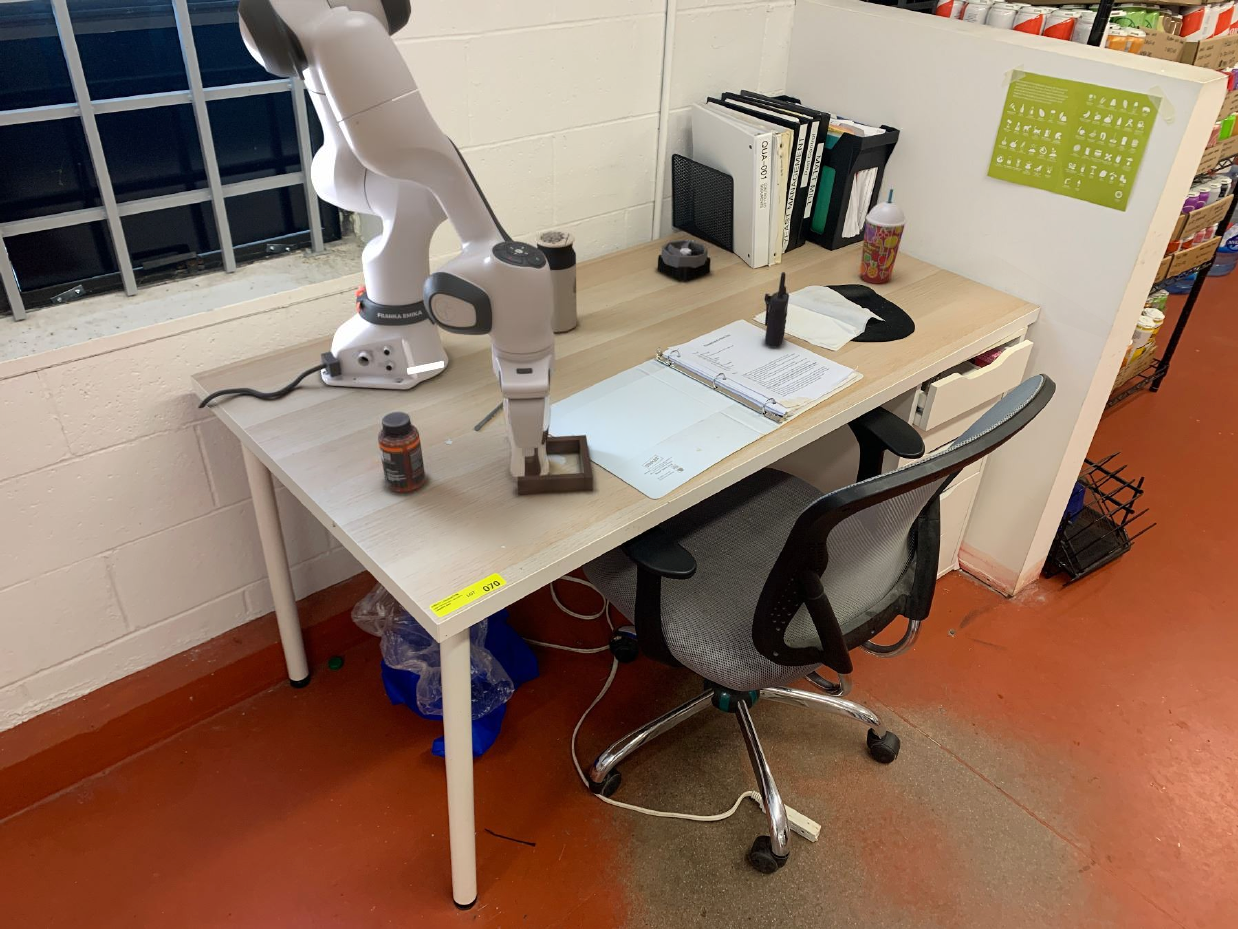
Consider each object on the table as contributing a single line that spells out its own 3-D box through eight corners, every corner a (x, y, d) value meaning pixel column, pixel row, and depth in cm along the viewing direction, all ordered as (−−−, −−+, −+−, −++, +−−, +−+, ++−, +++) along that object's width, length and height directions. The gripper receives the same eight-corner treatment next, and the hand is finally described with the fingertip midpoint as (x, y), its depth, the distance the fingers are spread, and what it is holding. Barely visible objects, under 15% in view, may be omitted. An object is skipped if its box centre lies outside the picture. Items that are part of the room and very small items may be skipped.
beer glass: (545, 485, 136) (542, 400, 128) (500, 479, 137) (495, 393, 129) (557, 460, 142) (555, 376, 133) (514, 454, 143) (510, 370, 134)
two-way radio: (779, 350, 174) (789, 276, 165) (756, 346, 175) (765, 273, 167) (785, 337, 178) (794, 265, 170) (762, 334, 179) (771, 262, 171)
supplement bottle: (428, 470, 140) (420, 407, 133) (422, 493, 135) (414, 429, 128) (389, 470, 139) (379, 407, 133) (382, 494, 135) (371, 429, 128)
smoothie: (848, 273, 205) (864, 184, 194) (881, 269, 207) (898, 181, 196) (867, 287, 199) (884, 197, 187) (901, 283, 201) (920, 194, 189)
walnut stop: (517, 494, 135) (517, 481, 134) (515, 451, 144) (515, 438, 143) (592, 490, 136) (592, 476, 135) (586, 447, 146) (586, 434, 144)
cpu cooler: (683, 259, 195) (652, 245, 201) (681, 284, 198) (651, 270, 204) (717, 248, 200) (686, 235, 207) (715, 273, 204) (684, 259, 210)
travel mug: (531, 330, 179) (527, 243, 168) (543, 313, 185) (540, 228, 175) (570, 335, 177) (569, 247, 167) (581, 318, 184) (580, 232, 173)
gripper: (500, 325, 137) (505, 404, 144) (501, 394, 120) (507, 479, 128) (542, 324, 137) (545, 402, 145) (549, 393, 121) (551, 477, 128)
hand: (527, 439), depth 136 cm, fingers closed on beer glass, 6 cm apart
